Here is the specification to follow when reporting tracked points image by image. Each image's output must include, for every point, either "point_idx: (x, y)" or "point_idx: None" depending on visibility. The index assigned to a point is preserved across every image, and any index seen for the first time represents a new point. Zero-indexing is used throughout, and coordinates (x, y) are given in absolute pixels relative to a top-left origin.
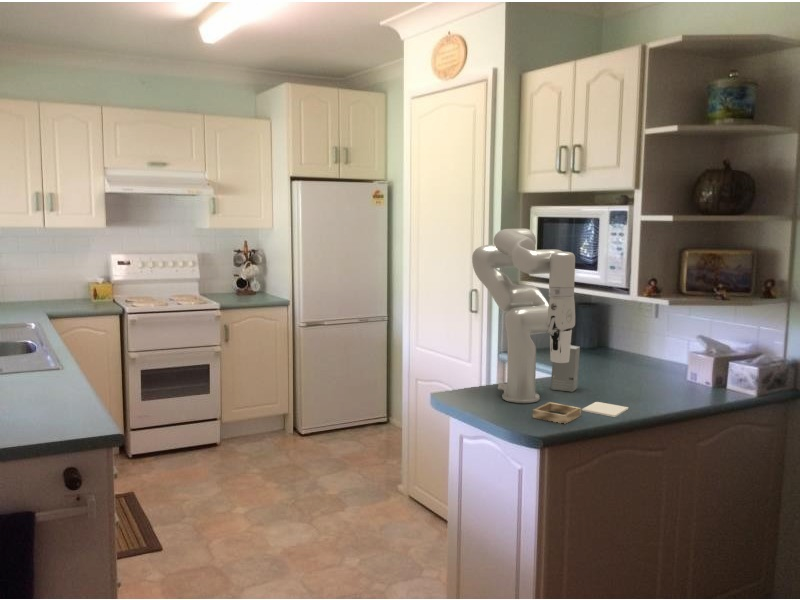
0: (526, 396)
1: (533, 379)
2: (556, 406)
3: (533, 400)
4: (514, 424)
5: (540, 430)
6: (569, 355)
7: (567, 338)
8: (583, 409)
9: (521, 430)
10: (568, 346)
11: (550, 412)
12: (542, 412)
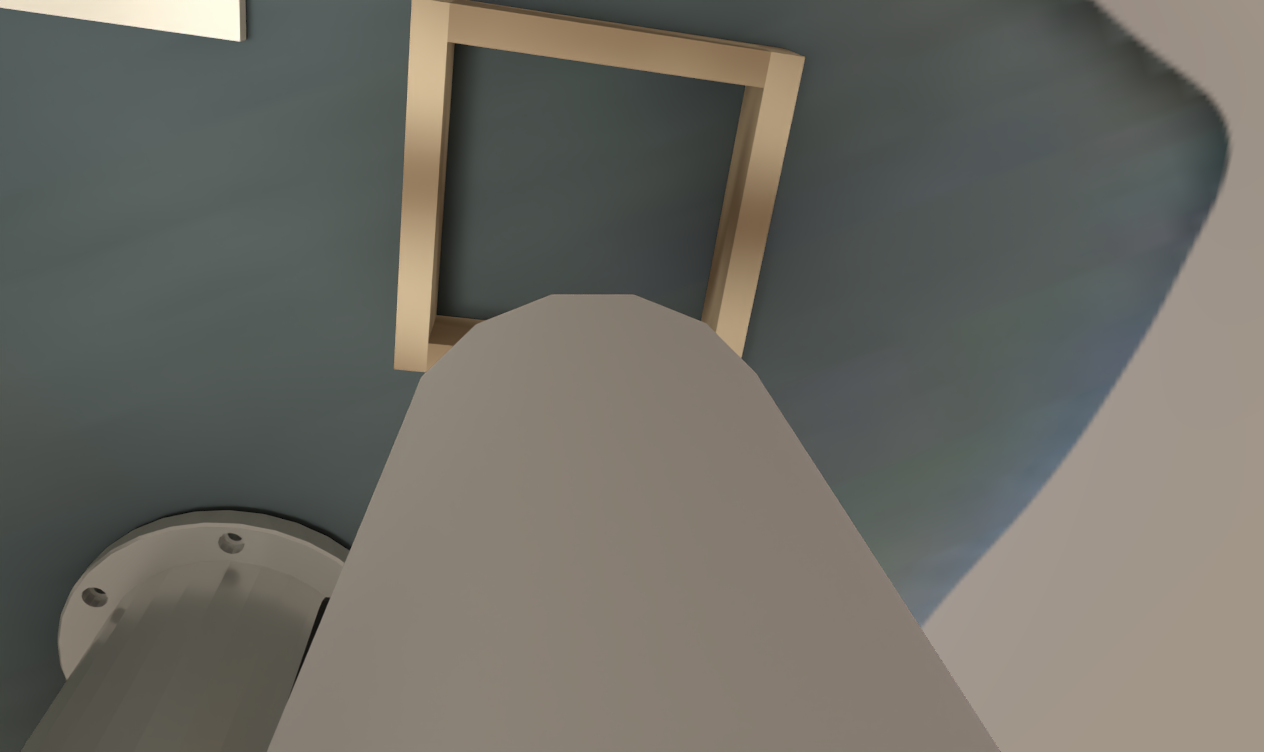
0: (311, 604)
1: (172, 688)
2: (435, 273)
3: (293, 532)
4: (956, 420)
5: (1038, 188)
6: (571, 343)
7: (904, 692)
8: (239, 22)
9: (1087, 319)
10: (723, 470)
11: (739, 235)
12: (750, 305)
